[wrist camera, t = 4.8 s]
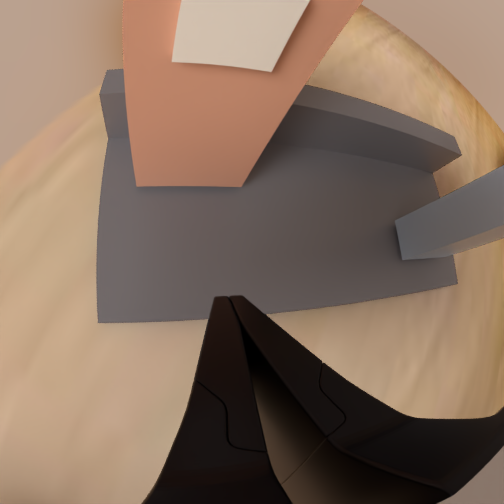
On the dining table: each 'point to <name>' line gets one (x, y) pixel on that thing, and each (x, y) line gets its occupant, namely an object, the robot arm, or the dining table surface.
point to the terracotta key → (217, 81)
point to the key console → (272, 216)
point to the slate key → (455, 220)
